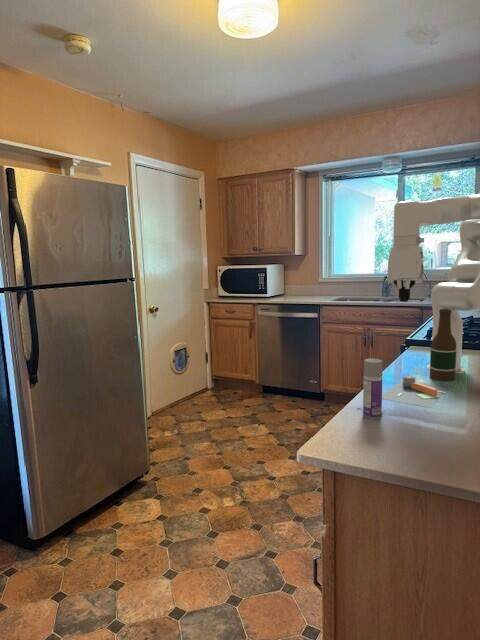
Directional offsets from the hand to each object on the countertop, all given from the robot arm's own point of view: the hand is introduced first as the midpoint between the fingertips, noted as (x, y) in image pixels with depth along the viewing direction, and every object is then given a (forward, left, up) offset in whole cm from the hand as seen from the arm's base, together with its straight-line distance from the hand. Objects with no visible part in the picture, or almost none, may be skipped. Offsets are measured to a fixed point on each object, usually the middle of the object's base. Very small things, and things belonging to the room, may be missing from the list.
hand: (404, 301), depth 136 cm
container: (+32, +2, -27) cm, 42 cm away
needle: (+8, +8, -26) cm, 28 cm away
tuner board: (+10, +7, -27) cm, 30 cm away
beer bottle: (-10, +10, -27) cm, 31 cm away
